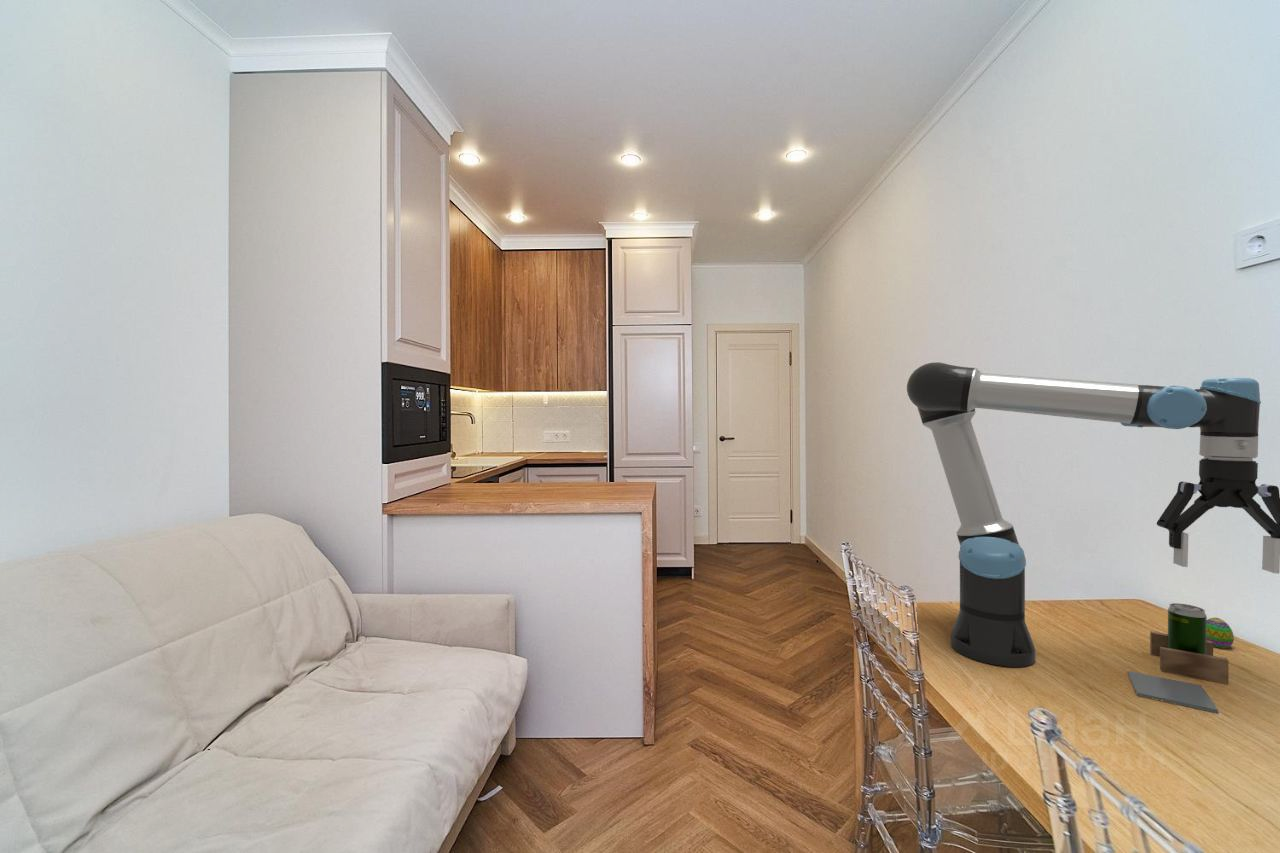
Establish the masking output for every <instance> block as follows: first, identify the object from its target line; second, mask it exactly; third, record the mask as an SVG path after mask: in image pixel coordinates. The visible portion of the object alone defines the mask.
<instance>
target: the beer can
mask: <svg viewBox="0 0 1280 853" xmlns="http://www.w3.org/2000/svg"><path fill="white" fill-rule="evenodd" d="M1207 620H1208V618H1207V614H1206V610H1205V609H1203V608H1202V607H1199V606H1195V605H1190V604H1186V603H1175V602H1173V603H1169V607H1168V609H1167V634H1168V648H1171V649H1177V650H1182V651H1188V652H1194V653H1199V654H1205V655H1206V641H1207Z"/></svg>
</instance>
